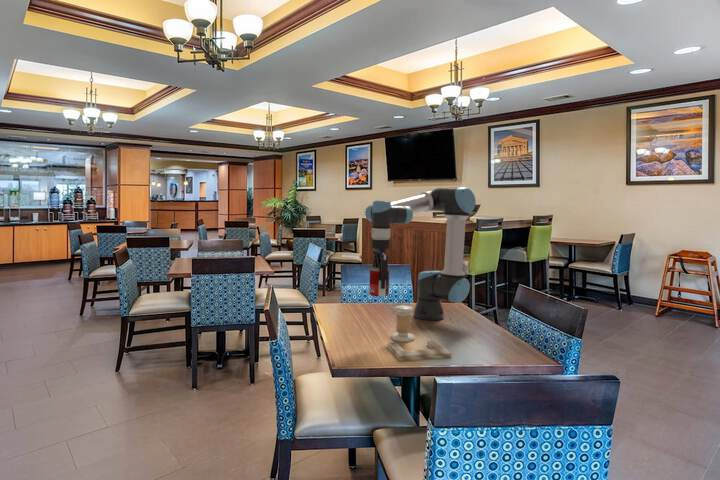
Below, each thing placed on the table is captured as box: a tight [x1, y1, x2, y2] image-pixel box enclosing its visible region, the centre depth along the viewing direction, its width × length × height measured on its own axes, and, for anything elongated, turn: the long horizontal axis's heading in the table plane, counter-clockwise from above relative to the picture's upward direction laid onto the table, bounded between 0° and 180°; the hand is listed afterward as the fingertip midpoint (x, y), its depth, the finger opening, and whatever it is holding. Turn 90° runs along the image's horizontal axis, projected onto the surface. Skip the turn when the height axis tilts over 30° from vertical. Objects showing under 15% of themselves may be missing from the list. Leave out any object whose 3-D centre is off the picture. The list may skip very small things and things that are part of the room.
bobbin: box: [390, 305, 416, 343], centre depth 188 cm, size 10×10×13 cm
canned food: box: [368, 266, 390, 298], centre depth 183 cm, size 8×8×11 cm
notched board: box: [387, 339, 452, 362], centre depth 171 cm, size 20×15×2 cm
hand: (379, 294), depth 183 cm, fingers closed on canned food, 8 cm apart
